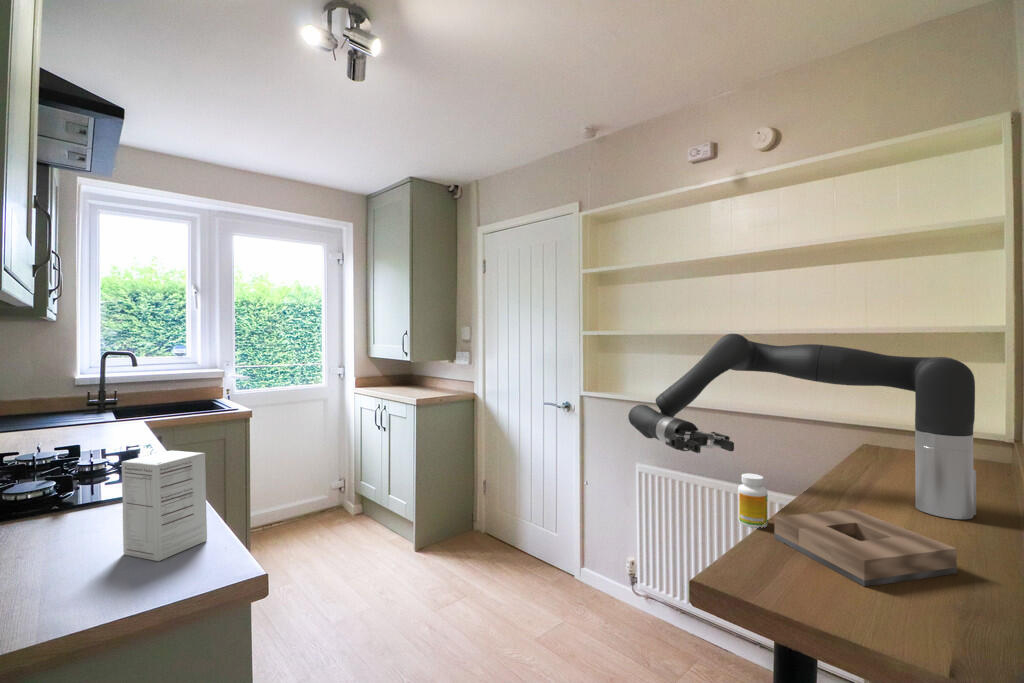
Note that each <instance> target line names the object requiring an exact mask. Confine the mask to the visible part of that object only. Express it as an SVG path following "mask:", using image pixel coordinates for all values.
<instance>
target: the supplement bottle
mask: <svg viewBox="0 0 1024 683" xmlns="http://www.w3.org/2000/svg"><path fill="white" fill-rule="evenodd" d="M764 482H765V480H764V476H762V475H759V474H756V473H742V474H741V483H742V484H740V485H739V486H738V488H737V521H738V523H739V524H741V525H742V526H745V527H748V528H752V529H764V528H767V526H768V522H769V521H768V520H769V519H768V518H769V517H768V513H769V512H768V511H769V510H768V490H767V488H766V487H765V486H763V485H764ZM767 521H768V522H767ZM766 522H767V523H766ZM764 523H766V524H765V525H763V524H764ZM762 525H763V526H762ZM760 526H762V527H761V528H759V527H760ZM763 527H764V528H763Z"/></svg>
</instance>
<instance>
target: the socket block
mask: <svg viewBox="0 0 1024 683" xmlns="http://www.w3.org/2000/svg"><path fill="white" fill-rule="evenodd" d="M773 524H774V530H773V531H774V537H773V538H774V539H775V540H778V541H779V542H781V543H782V544H784V543H785V545H786V544H787V545H786V546H788V545H789V546H788V547H790V548H792V549H794V550H795V551H796V552H799V553H801V554H803V555H805V556H807V557H809V559H810V558H811V559H813V560H814V561H816V562H818V563H820V564H822V565H824V566H825V567H827V568H828V569H831V570H832V571H834V572H837V573H838V574H840V575H842V576H844V578H847V579H849V580H851V581H853V582H854V581H855V583H856V582H857V583H856V584H858V583H859V585H860V584H861V585H860V586H862V585H863V586H862V587H864V586H867V587H871V586H870V585H874V586H879V585H885V584H894V583H901V582H909V581H915V580H920V579H927V578H934V577H942V576H949V575H955V574H957V570H958V568H957V566H958V565H957V562H958V561H957V560H958V555H957V552H958V551H957V549H958V548H956V547H954V546H951V545H948V544H946V543H944V542H941V541H938V540H935V539H933V538H930V537H928V536H925V535H922V534H920V533H917V532H915V531H912V530H909V529H907V528H903V527H901V526H900V525H896V524H893V523H891V522H888V521H885V520H883V519H880V518H878V517H875V516H872V515H870V514H868V513H865V512H863V511H859V510H857V509H854V508H850V509H848V508H847V509H840V510H830V511H820V512H819V511H818V512H809V513H800V514H799V513H798V514H790V515H780V516H779V515H778V516H774V523H773Z"/></svg>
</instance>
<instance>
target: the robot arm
mask: <svg viewBox="0 0 1024 683" xmlns="http://www.w3.org/2000/svg"><path fill="white" fill-rule="evenodd" d="M729 370H731V371H740V372H761V373H770V374H771V373H772V374H778V375H781V376H785V377H786V376H787V377H790V378H796V379H800V380H801V379H802V380H806V381H811V382H816V383H824V384H831V385H839V386H855V387H857V386H859V387H866V386H867V387H870V386H871V387H887V388H894V389H899V390H903V391H904V390H905V391H910V392H914V393H915V395H914V396H915V399H914V400H915V402H914V403H915V410H914V413H915V414H914V423H915V424H914V429H915V430H914V431H915V432H914V435H915V436H914V437H915V438H914V441H915V444H914V448H915V449H914V450H915V451H914V452H915V453H914V454H915V455H914V457H915V460H914V461H915V462H914V463H915V464H914V465H915V466H914V467H915V469H914V470H915V471H914V472H915V473H914V474H915V481H914V482H915V490H914V491H915V495H914V496H915V499H914V500H915V509H917V510H918V511H921V512H922V513H926V514H928V515H932V516H934V517H935V516H936V517H941V518H946V519H951V520H952V519H953V520H971V519H973V518H974V516H975V515H977V470H975V469H974V426H975V425H974V424H975V419H976V418H975V416H976V415H975V414H976V412H975V410H976V407H975V406H976V405H975V404H976V381H975V375H974V374H973V371H972V370H971V368H969V366H967V365H966V364H965V363H963V362H961V361H959V360H957V359H954V358H951V357H946V356H934V357H933V356H932V357H931V356H930V357H929V356H926V357H925V356H898V355H889V354H888V355H887V354H882V353H877V352H873V351H870V350H864V349H858V348H857V349H856V348H852V347H851V348H850V347H846V346H845V347H843V346H837V345H836V346H835V345H828V344H827V345H826V344H814V343H813V344H811V343H810V344H806V343H805V344H794V345H793V344H792V345H773V344H767V343H760V342H756V341H752V340H749V339H748V338H746V337H745V336H744V335H741V334H739V333H728V334H726V335H724V336H722V337H721V338H720V339H719V340H718V341H716V343H715V344H714V345H713V346H712V347H711V348H710V349H709V350H708V351H707V352H706V354H705V355H704V356H703V357H702V358H701V359H699V361H698V362H697V363H696V364H695V365H693V367H692V368H690V369H689V370H688V371H687V372H686V373H685V374H684V375H682V377H680V378H679V379H678V380H677V381H675V382H674V383H672V385H670V386H669V387H668V388H666V389H665V390H664V391H662V392H661V393H659V395H657V397H656V398H655V404H656V405H657V408H658V409H659V411H660V412H659V411H657V410H656V409H654V408H653V407H651V406H648V405H647V404H637V405H635V406H633V407H632V408H631V409H630V411H629V413H628V415H627V416H628V422H629V423H630V425H632V426H633V428H635V429H636V430H637V431H638V432H639V433H640V434H641V435H642V436H644V437H645V438H647V439H656V440H657V441H660V442H662V443H664V444H665V445H666V446H668V447H670V448H673V449H675V450H677V451H682V452H689V451H691V452H693V453H696V454H701V448H705V449H706V448H707V449H711V450H712V449H714V448H718V449H719V448H720V449H722V450H725V451H728V452H734V450H735V442H734V441H733V440H732V441H731V440H730V438H731V437H730V436H729V435H725V434H722V433H719V432H716V431H711V432H704V431H703V430H699V428H698V427H697V426H696V424H694V423H692V422H690V421H688V420H684V419H682V418H678V417H675V416H676V415H677V414H678V413H679V412H681V411H683V409H684V408H686V407H688V406H689V405H690V404H691V403H693V401H695V400H696V399H697V397H699V395H701V393H702V392H703V391H704V390H705V388H706V387H707V386H708V385H709V384H711V383H712V382H713V381H714V380H715V379H716V378H718V377H719V376H721V375H722V374H724V373H726V372H727V371H729ZM708 441H709V444H708Z"/></svg>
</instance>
